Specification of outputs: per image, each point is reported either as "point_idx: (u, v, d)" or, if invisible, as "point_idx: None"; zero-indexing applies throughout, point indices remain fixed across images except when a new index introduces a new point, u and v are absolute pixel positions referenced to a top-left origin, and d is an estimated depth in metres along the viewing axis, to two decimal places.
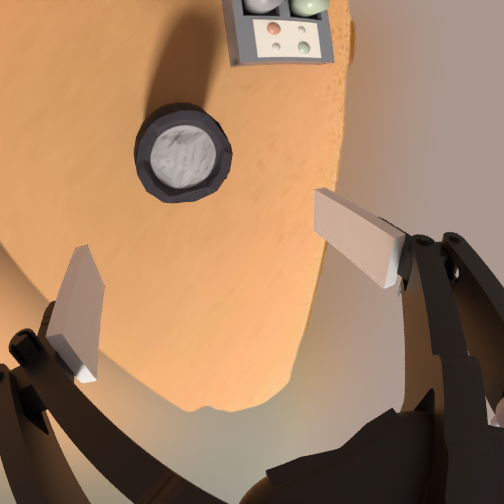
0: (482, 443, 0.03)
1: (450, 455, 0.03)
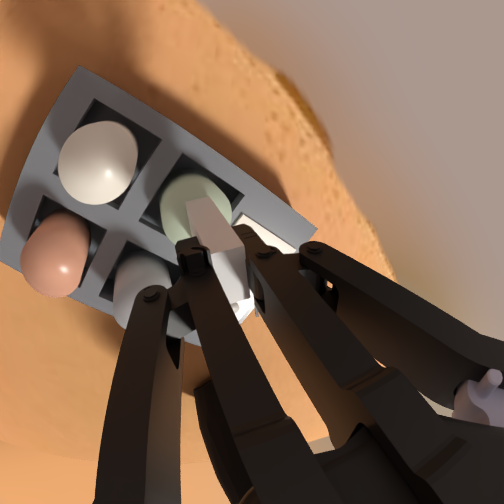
0: (454, 448, 0.03)
1: (429, 481, 0.03)
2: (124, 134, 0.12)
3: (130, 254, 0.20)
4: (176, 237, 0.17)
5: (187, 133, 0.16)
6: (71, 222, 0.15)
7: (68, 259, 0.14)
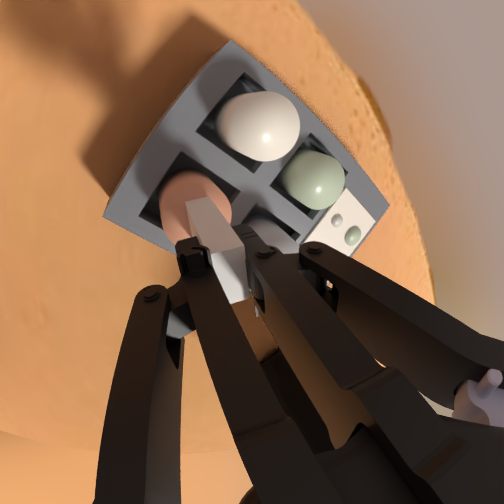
0: (454, 448, 0.03)
1: (429, 481, 0.03)
2: (293, 106, 0.15)
3: (250, 217, 0.23)
4: (305, 197, 0.21)
5: (315, 117, 0.19)
6: (210, 179, 0.19)
7: (221, 209, 0.17)
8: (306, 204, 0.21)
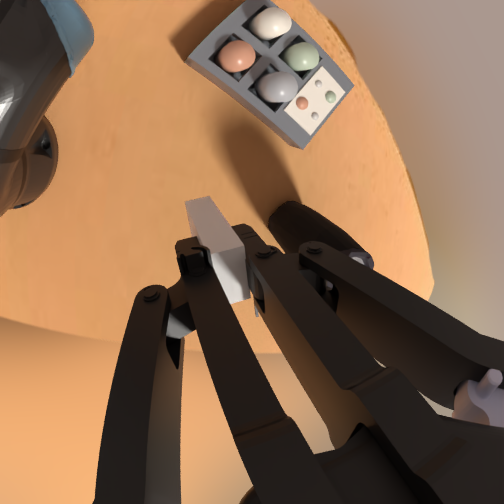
0: (454, 448, 0.03)
1: (429, 481, 0.03)
2: None
3: None
4: (297, 60, 0.32)
5: (300, 28, 0.30)
6: None
7: (250, 53, 0.29)
8: (298, 64, 0.32)
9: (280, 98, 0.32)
